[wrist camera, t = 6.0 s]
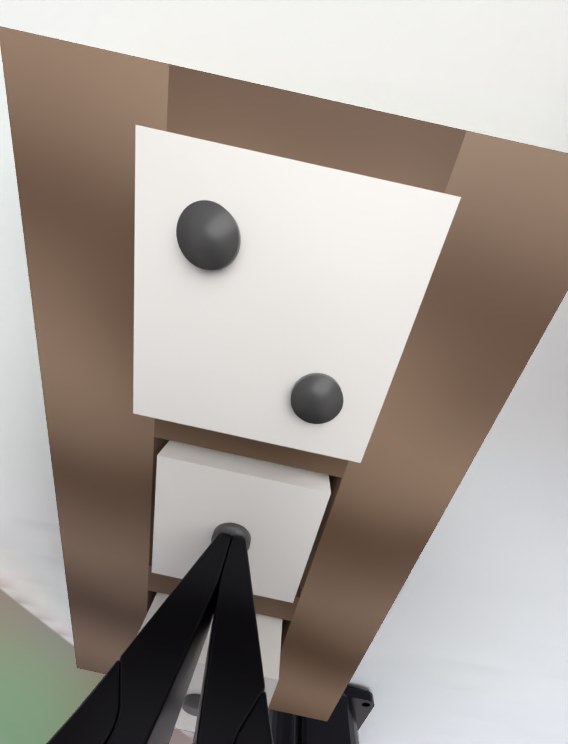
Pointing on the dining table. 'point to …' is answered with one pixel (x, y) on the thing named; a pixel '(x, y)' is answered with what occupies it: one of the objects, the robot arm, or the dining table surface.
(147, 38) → the dining table surface
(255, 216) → the two dot key
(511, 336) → the key panel
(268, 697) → the three dot key
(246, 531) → the one dot key
